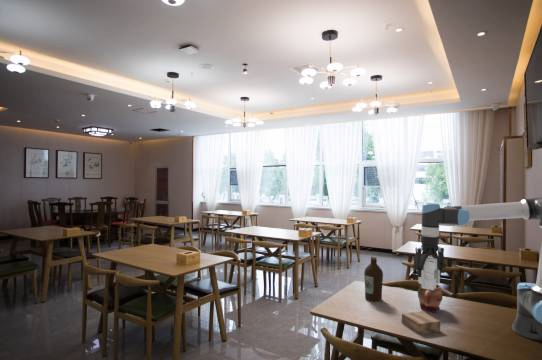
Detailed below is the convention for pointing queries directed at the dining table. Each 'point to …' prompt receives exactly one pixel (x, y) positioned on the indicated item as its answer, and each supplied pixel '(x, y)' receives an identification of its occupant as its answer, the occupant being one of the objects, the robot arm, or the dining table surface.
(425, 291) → the decorative planter
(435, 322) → the walnut block
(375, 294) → the olive oil
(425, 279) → the syrup box
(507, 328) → the dining table surface
